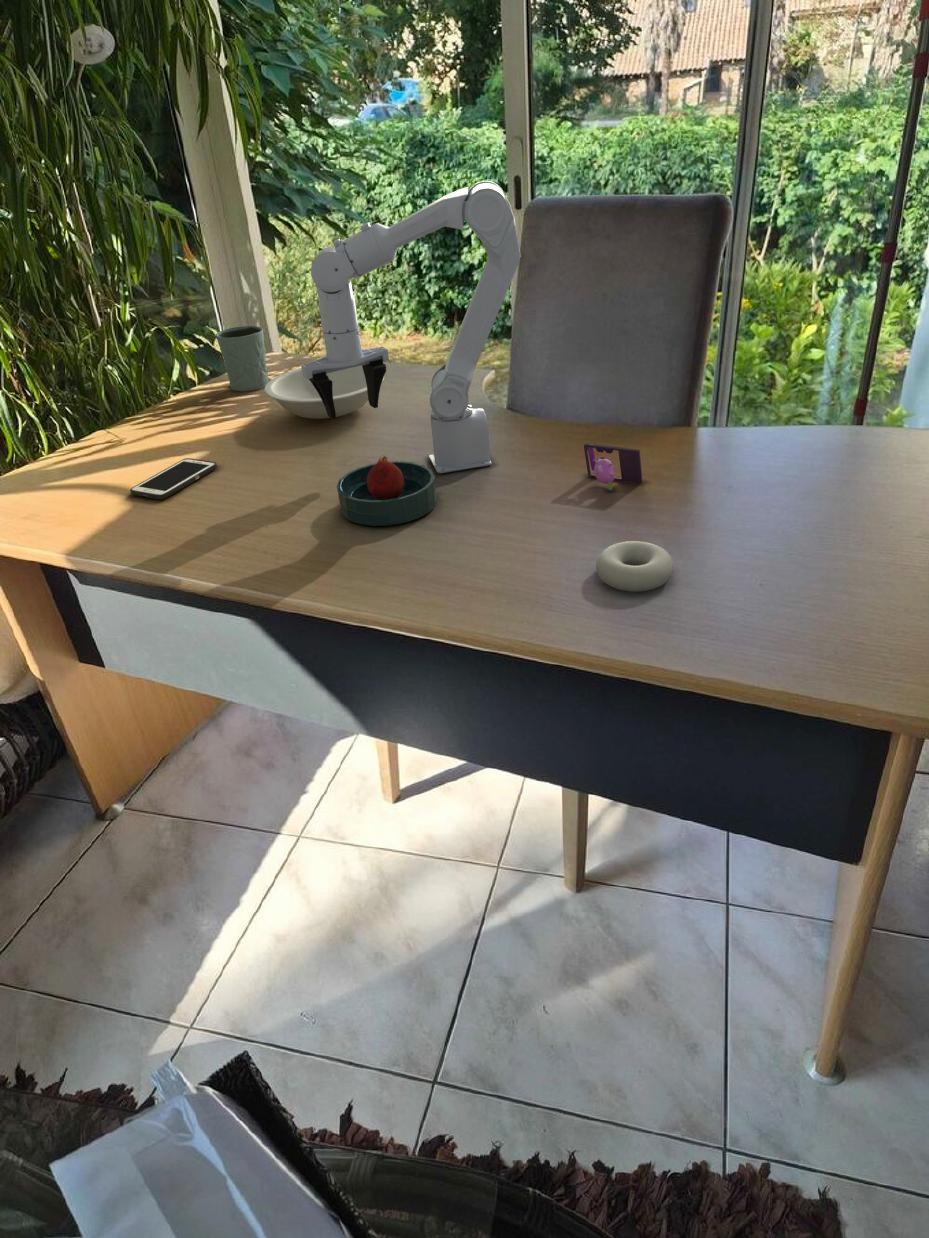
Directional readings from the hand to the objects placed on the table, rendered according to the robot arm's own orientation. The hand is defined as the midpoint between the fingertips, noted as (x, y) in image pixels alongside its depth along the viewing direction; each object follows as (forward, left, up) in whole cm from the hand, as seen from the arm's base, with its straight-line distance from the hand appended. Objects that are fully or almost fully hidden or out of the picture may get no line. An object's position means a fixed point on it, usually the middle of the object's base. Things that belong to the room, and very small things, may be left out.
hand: (353, 411), depth 146 cm
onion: (-2, +17, -10) cm, 20 cm away
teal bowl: (-2, +17, -10) cm, 20 cm away
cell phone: (+32, -8, -10) cm, 35 cm away
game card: (-37, +23, -11) cm, 45 cm away
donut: (-29, +51, -11) cm, 60 cm away
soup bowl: (+2, -32, -11) cm, 34 cm away
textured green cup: (+17, -59, -11) cm, 62 cm away
